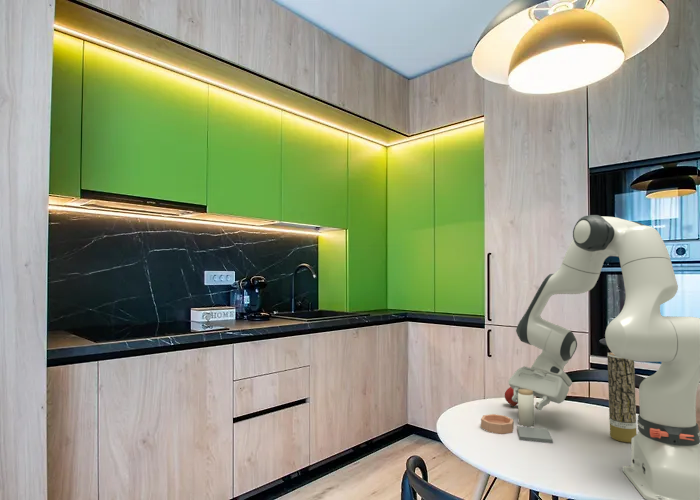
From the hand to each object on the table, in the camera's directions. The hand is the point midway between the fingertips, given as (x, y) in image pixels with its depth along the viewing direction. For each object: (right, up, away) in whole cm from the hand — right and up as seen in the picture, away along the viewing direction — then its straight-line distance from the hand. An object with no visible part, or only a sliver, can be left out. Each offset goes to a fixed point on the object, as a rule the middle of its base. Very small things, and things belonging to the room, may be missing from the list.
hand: (525, 404), depth 143 cm
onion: (+3, -7, +18) cm, 20 cm away
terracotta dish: (-11, -6, -4) cm, 13 cm away
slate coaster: (-2, -6, -11) cm, 12 cm away
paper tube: (+24, -6, -13) cm, 28 cm away
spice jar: (0, -6, 0) cm, 6 cm away
